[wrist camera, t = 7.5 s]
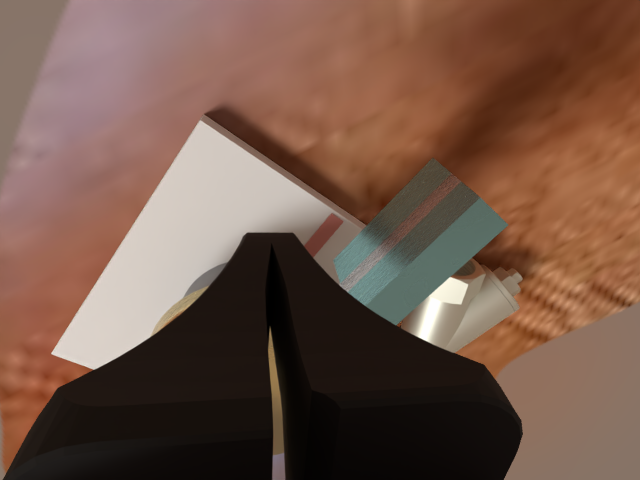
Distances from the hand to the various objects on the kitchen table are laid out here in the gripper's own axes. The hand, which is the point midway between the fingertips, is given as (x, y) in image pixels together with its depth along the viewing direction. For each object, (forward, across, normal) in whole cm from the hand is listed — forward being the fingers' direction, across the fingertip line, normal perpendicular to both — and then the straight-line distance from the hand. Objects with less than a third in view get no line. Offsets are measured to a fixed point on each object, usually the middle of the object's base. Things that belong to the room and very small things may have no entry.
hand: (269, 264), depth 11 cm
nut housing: (+10, +1, +10) cm, 14 cm away
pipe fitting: (+11, -12, +10) cm, 19 cm away
